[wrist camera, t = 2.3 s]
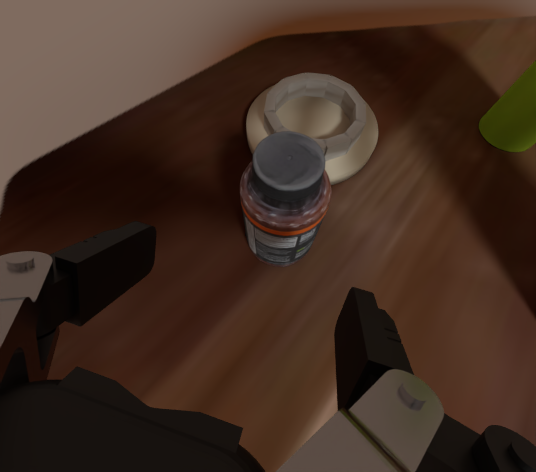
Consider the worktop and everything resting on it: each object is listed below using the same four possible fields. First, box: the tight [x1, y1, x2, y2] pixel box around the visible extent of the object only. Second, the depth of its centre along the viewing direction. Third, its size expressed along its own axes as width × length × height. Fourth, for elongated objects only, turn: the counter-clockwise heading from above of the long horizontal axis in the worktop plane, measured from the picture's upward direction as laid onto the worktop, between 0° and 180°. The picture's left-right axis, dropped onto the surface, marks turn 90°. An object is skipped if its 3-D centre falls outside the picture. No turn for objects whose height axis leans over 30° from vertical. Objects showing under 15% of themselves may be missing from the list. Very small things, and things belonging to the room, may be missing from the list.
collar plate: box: [246, 73, 378, 185], centre depth 28 cm, size 14×14×4 cm
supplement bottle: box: [239, 131, 331, 267], centre depth 20 cm, size 6×6×11 cm
